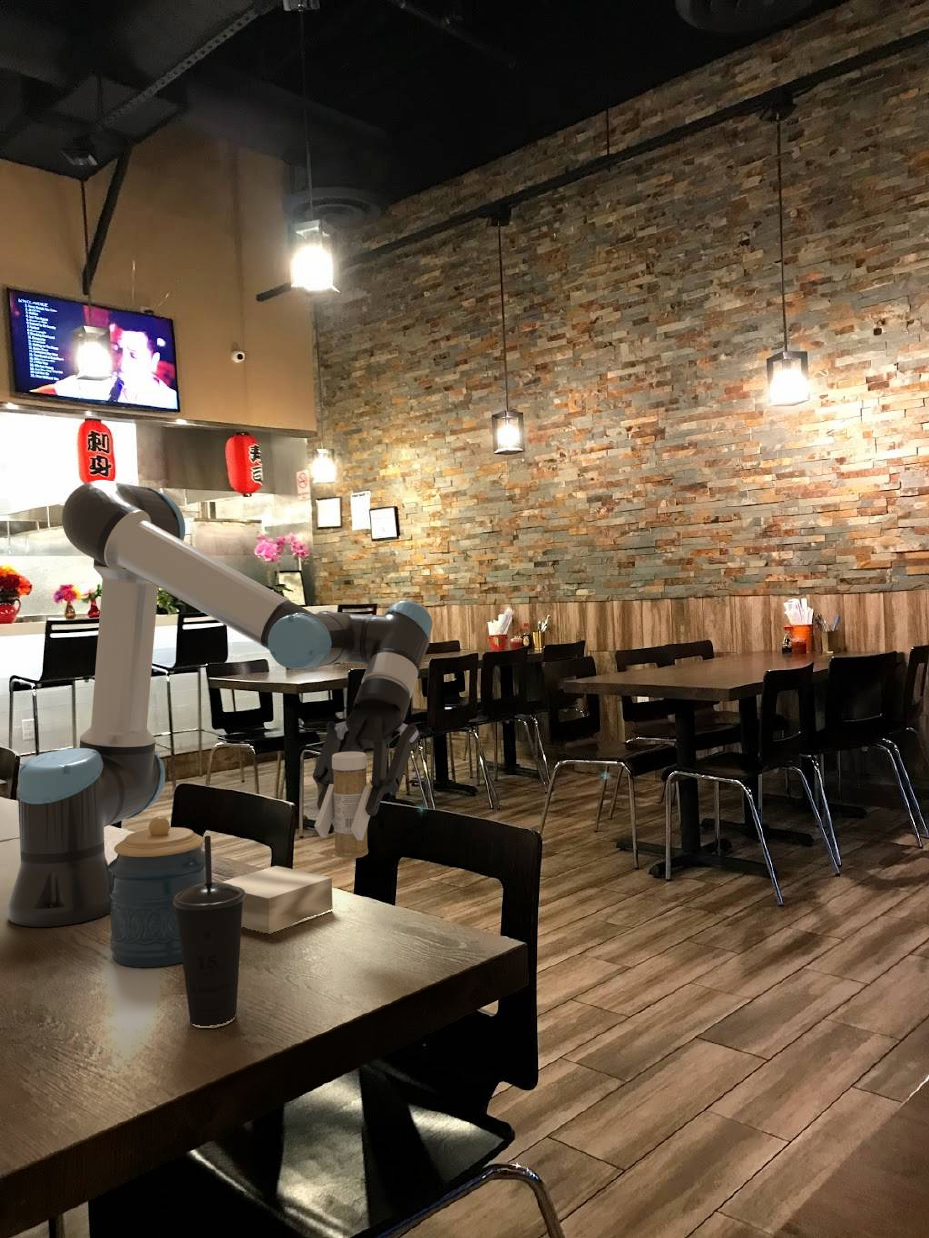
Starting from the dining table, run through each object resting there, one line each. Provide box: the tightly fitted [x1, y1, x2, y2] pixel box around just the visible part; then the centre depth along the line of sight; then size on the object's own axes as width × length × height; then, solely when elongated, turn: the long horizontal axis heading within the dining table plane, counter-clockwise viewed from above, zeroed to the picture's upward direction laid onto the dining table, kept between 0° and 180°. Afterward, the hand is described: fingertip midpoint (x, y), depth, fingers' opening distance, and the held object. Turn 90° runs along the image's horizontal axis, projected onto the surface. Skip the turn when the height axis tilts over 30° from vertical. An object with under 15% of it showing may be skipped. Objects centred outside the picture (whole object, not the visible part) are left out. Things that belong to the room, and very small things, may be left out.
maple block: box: [222, 865, 334, 935], centre depth 143 cm, size 12×12×5 cm
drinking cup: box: [173, 835, 245, 1026], centre depth 107 cm, size 8×8×20 cm
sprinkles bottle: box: [332, 751, 369, 860], centre depth 130 cm, size 5×5×14 cm
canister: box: [108, 816, 213, 968], centre depth 129 cm, size 13×13×18 cm
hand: (338, 832), depth 126 cm, fingers closed on sprinkles bottle, 4 cm apart
